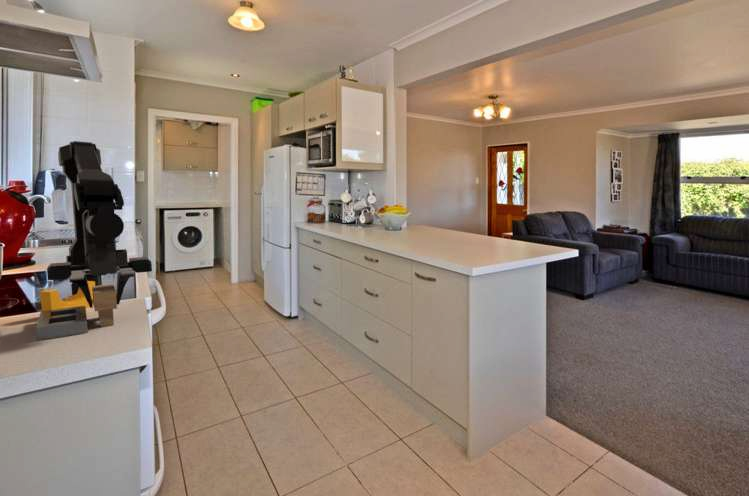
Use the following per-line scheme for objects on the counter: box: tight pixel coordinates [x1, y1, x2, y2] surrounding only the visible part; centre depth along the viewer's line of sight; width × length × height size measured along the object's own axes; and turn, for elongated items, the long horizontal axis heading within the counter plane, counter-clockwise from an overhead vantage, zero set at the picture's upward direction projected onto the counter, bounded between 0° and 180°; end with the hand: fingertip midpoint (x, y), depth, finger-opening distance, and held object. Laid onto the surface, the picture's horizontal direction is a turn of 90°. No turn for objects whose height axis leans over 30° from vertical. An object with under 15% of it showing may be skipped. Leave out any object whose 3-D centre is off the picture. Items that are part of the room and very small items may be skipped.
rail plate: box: [35, 306, 89, 341], centre depth 86 cm, size 14×8×2 cm, turn 37°
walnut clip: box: [92, 283, 118, 328], centre depth 90 cm, size 8×4×8 cm, turn 37°
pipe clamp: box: [39, 281, 95, 311], centre depth 97 cm, size 12×4×6 cm, turn 171°
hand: (104, 305), depth 90 cm, fingers open, 5 cm apart
